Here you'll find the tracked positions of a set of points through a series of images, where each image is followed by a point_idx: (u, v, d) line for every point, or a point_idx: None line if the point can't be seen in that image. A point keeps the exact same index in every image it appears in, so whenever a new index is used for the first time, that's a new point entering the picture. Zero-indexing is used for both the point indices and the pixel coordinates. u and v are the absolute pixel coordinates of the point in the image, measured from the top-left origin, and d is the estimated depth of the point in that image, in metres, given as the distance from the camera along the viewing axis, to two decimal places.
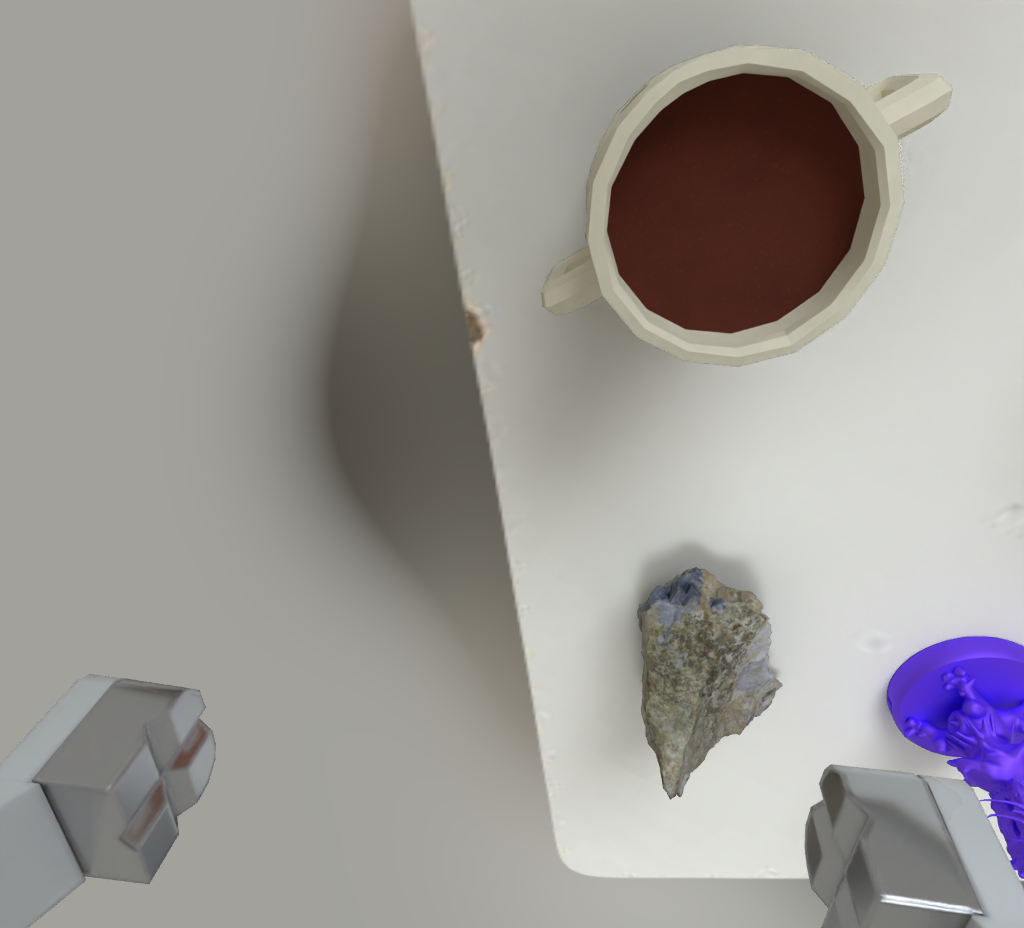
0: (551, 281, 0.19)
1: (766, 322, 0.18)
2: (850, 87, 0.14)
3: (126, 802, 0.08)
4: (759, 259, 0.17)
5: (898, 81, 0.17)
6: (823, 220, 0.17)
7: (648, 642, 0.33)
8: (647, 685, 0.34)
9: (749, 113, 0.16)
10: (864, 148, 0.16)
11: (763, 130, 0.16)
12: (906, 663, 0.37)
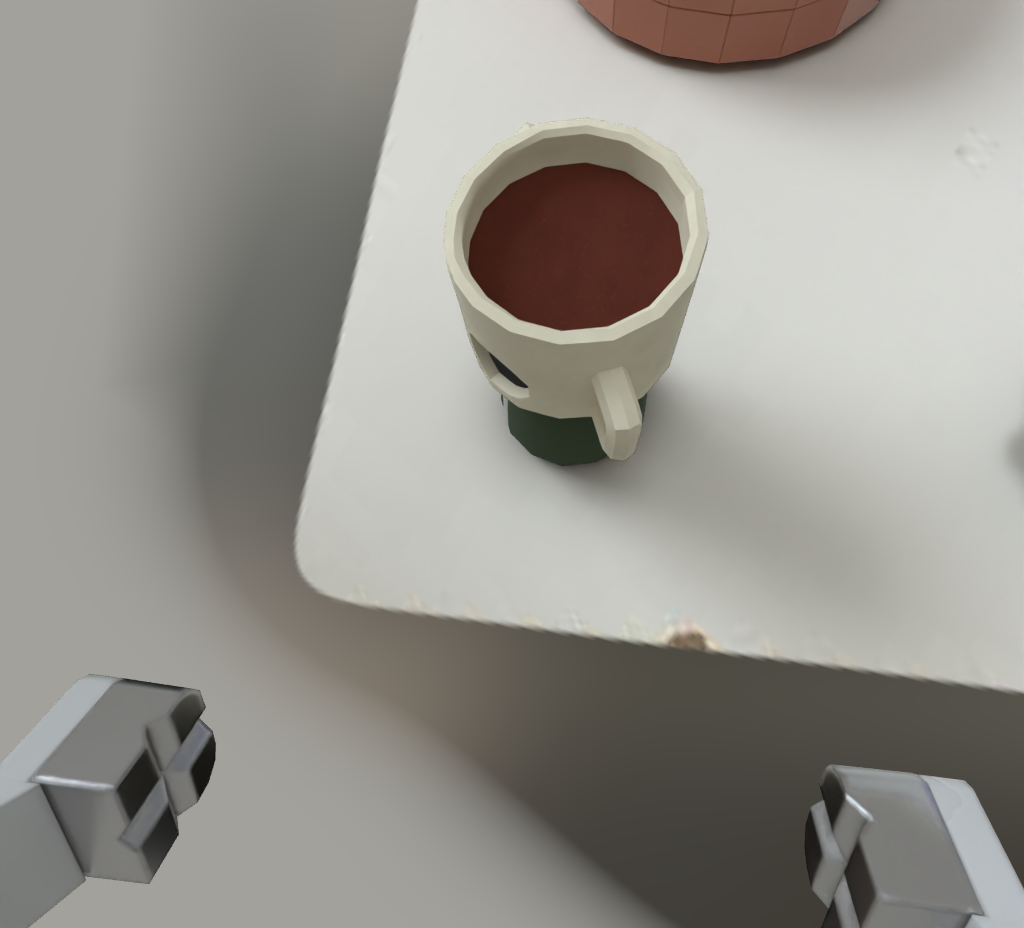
0: (606, 425, 0.19)
1: (678, 233, 0.20)
2: (495, 152, 0.19)
3: (125, 802, 0.08)
4: (618, 234, 0.20)
5: None
6: (596, 188, 0.20)
7: None
8: None
9: (500, 235, 0.20)
10: (545, 156, 0.20)
11: (515, 227, 0.20)
12: None
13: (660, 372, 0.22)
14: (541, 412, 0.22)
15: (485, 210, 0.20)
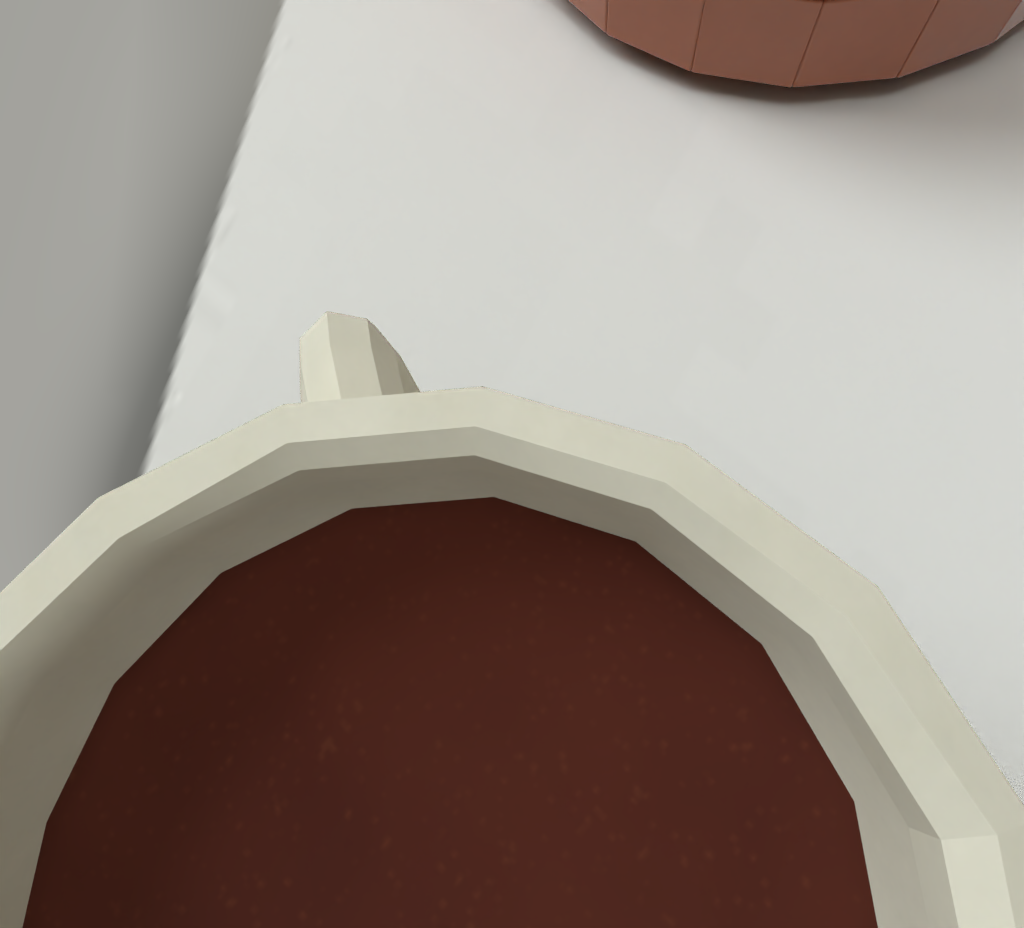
0: None
1: (855, 837, 0.05)
2: (83, 537, 0.05)
3: None
4: (612, 839, 0.05)
5: None
6: (530, 613, 0.05)
7: None
8: None
9: (160, 807, 0.05)
10: (338, 496, 0.05)
11: (221, 769, 0.05)
12: None
13: None
14: None
15: (124, 682, 0.06)
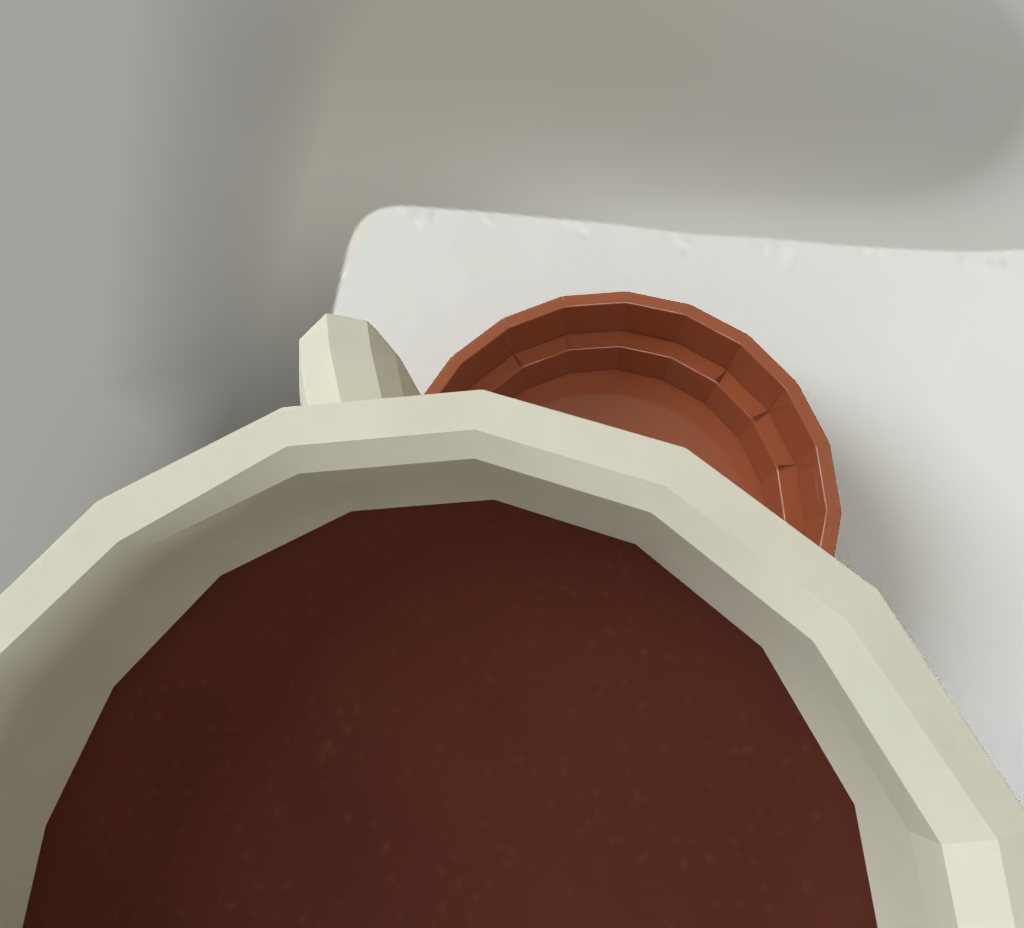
0: None
1: (855, 840, 0.05)
2: (83, 541, 0.05)
3: None
4: (612, 842, 0.05)
5: None
6: (530, 616, 0.05)
7: None
8: None
9: (159, 810, 0.05)
10: (337, 498, 0.05)
11: (219, 773, 0.05)
12: None
13: None
14: None
15: (123, 685, 0.06)
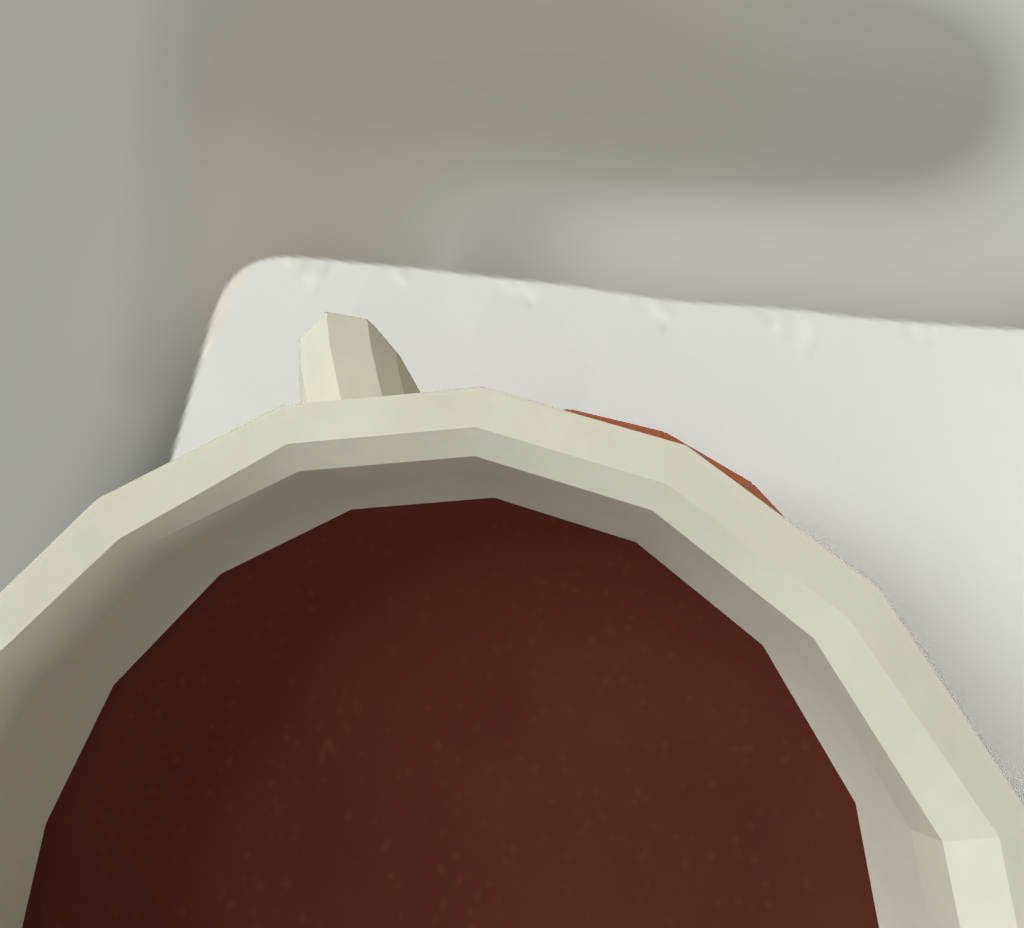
0: None
1: (855, 839, 0.05)
2: (82, 539, 0.05)
3: None
4: (612, 840, 0.05)
5: None
6: (530, 615, 0.05)
7: None
8: None
9: (159, 810, 0.05)
10: (337, 497, 0.05)
11: (219, 771, 0.05)
12: None
13: None
14: None
15: (123, 683, 0.06)
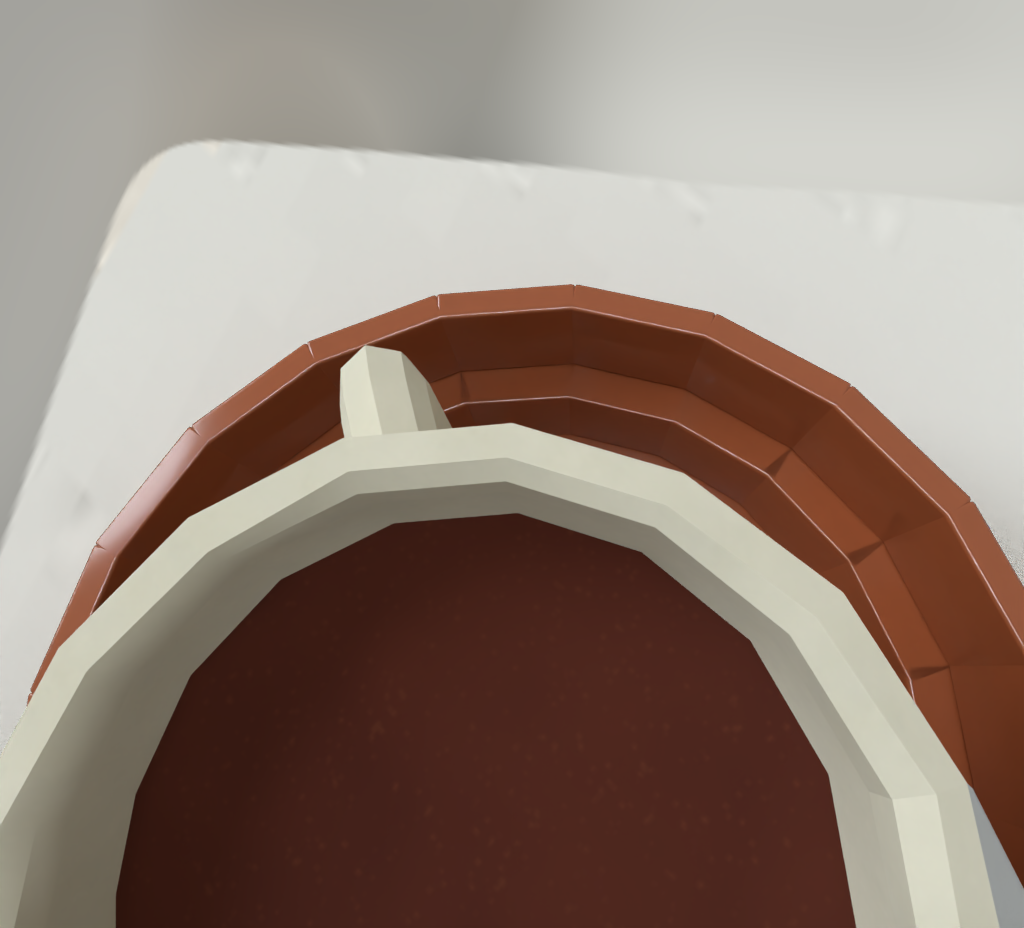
0: None
1: (829, 805, 0.06)
2: (178, 551, 0.05)
3: None
4: (622, 807, 0.06)
5: None
6: (549, 614, 0.06)
7: None
8: None
9: (234, 781, 0.06)
10: (384, 513, 0.06)
11: (283, 749, 0.06)
12: None
13: None
14: None
15: (198, 674, 0.06)
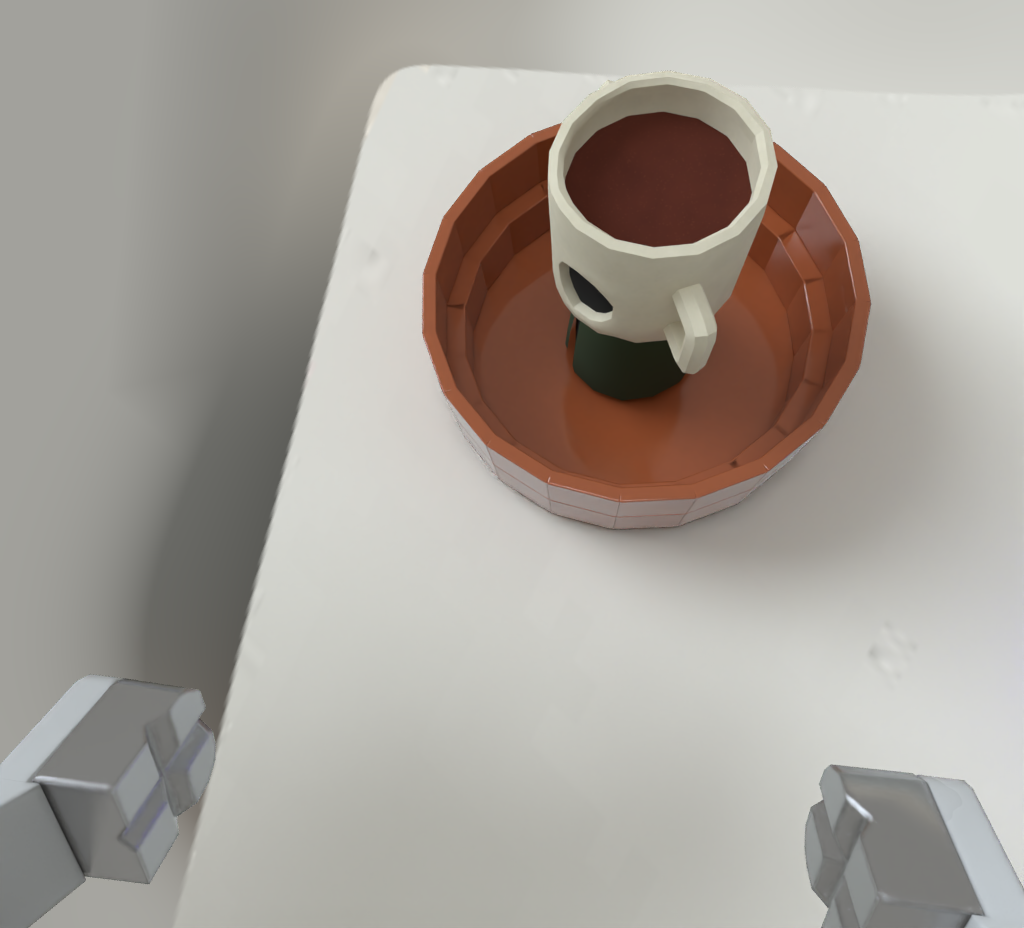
0: (686, 334, 0.22)
1: (746, 170, 0.23)
2: (589, 100, 0.23)
3: (126, 802, 0.08)
4: (694, 171, 0.23)
5: None
6: (673, 133, 0.23)
7: None
8: None
9: (591, 174, 0.23)
10: (629, 106, 0.23)
11: (604, 166, 0.23)
12: None
13: (724, 299, 0.25)
14: (619, 334, 0.25)
15: (577, 153, 0.24)
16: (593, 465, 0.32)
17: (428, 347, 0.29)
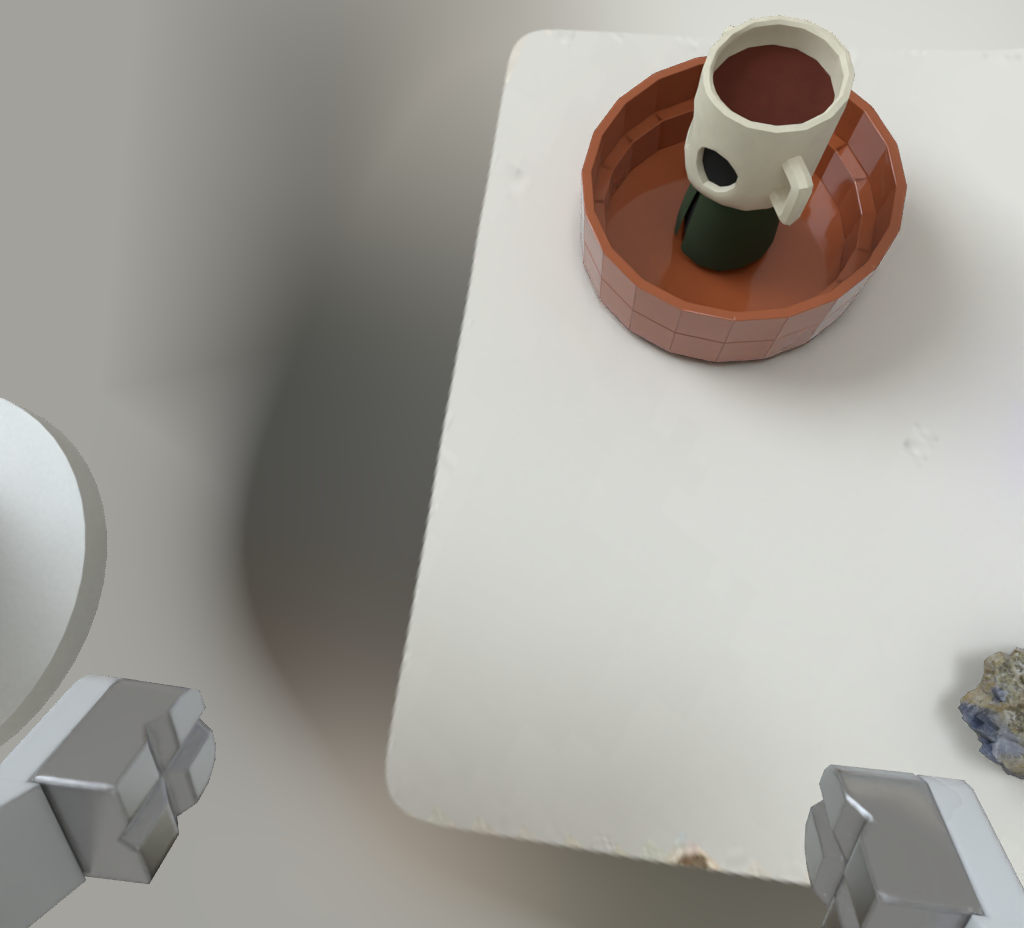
0: (792, 189, 0.34)
1: (830, 82, 0.34)
2: (727, 34, 0.34)
3: (125, 802, 0.08)
4: (795, 83, 0.34)
5: None
6: (780, 58, 0.35)
7: None
8: None
9: (726, 85, 0.35)
10: (751, 40, 0.35)
11: (734, 80, 0.35)
12: None
13: None
14: (737, 201, 0.37)
15: (715, 72, 0.35)
16: None
17: (589, 222, 0.40)
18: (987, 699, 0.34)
